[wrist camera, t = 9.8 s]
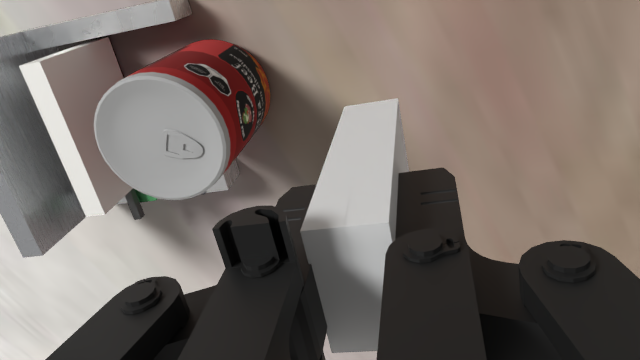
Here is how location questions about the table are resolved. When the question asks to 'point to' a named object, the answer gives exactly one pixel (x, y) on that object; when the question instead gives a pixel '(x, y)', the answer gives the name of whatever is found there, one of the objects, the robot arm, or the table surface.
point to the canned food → (182, 119)
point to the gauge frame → (32, 135)
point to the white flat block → (80, 119)
